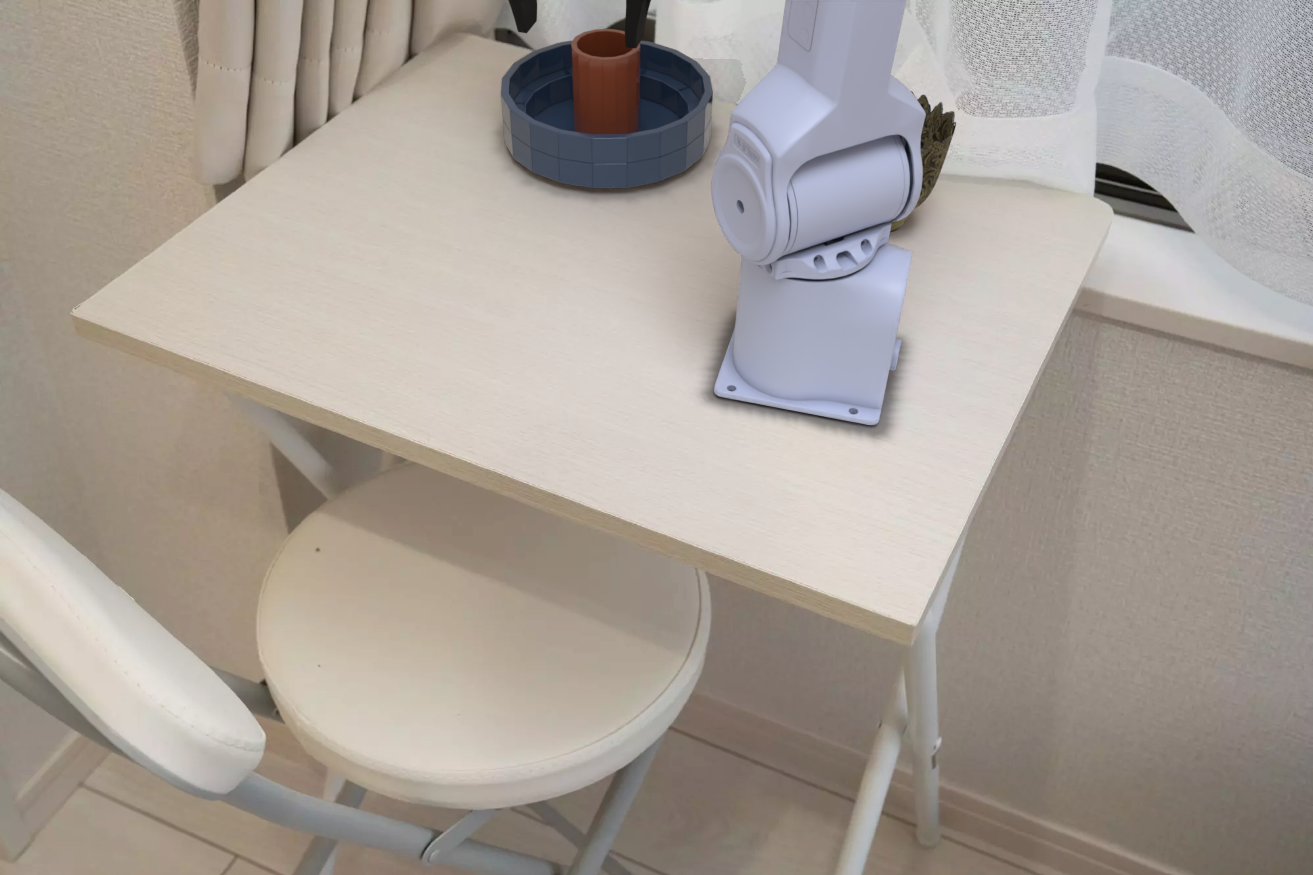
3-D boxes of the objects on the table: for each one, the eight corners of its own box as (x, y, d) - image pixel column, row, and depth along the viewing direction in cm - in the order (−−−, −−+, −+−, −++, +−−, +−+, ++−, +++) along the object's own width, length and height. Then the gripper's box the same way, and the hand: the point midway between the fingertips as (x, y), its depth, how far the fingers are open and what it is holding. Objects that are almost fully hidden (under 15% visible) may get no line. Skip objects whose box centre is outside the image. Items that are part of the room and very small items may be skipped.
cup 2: (913, 264, 78) (936, 156, 72) (809, 233, 80) (823, 126, 74) (947, 208, 82) (970, 103, 77) (848, 181, 85) (863, 77, 79)
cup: (646, 122, 89) (647, 33, 84) (628, 154, 86) (629, 63, 81) (585, 113, 90) (583, 25, 85) (565, 144, 87) (562, 54, 82)
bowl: (728, 107, 92) (732, 52, 89) (681, 210, 82) (683, 152, 78) (543, 80, 95) (541, 26, 92) (475, 176, 84) (469, 119, 81)
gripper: (707, -191, 72) (698, 23, 82) (485, -214, 75) (501, -4, 84) (678, -155, 67) (672, 68, 77) (441, -181, 70) (463, 39, 79)
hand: (580, 34), depth 80 cm, fingers open, 7 cm apart
